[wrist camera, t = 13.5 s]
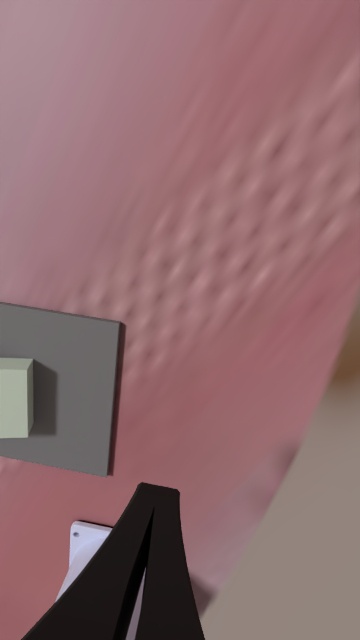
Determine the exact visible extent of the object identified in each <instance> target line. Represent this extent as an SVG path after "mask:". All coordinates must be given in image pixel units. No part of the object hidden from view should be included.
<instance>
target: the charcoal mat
mask: <svg viewBox="0 0 360 640" xmlns="http://www.w3.org/2000/svg"><path fill="white" fill-rule="evenodd" d="M120 326H121V322H119V321H113V320H107V319H101V318H95V317H89V316H83V315H77V314H70V313H64V312H58V311H52V310H46V309H40V308H34V307H28V306H22V305H16V304H10V303H4V302H0V358H25V359H33V417H34V423H33V425H32V428H31V430H30V433H29V436H28V438H0V456H2V457H7V458H12V459H17V460H22V461H27V462H32V463H37V464H42V465H47V466H52V467H57V468H62V469H67V470H72V471H77V472H82V473H87V474H92V475H97V476H102V477H107V475H108V472H109V460H110V447H111V435H112V423H113V411H114V399H115V387H116V375H117V362H118V350H119V338H120Z"/></svg>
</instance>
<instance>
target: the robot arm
mask: <svg viewBox="0 0 360 640" xmlns="http://www.w3.org/2000/svg"><path fill="white" fill-rule="evenodd" d="M21 640H205V638H204V634H203V631H202V627H201V623H200V620H199V616H198V612H197V608H196V604H195V600H194V595H193V591H192V586H191V582H190V577H189V572H188V567H187V562H186V556H185V550H184V544H183V537H182V530H181V520H180V492H179V491H178V490H177V489H173V488H168V487H163V486H158V485H153V484H148V483H143V482H142V483H140V484H138V486H137V489H136V491H135V493H134V495H133V497H132V498H131V500H130V502H129V504H128V505H127V507H126V509H125V510H124V512H123V514H122V515H121V517H120V518H119V520H118V521H117V523H116V524H115V526H114V527H113V528H109V527H104V526H99V525H95V524H90V523H85V522H80V521H75V522H74V523H73V524H72V526H71V535H70V560H69V571H68V573H67V575H66V578H65V580H64V582H63V585H62V587H61V589H60V591H59V594H58V596H57V598H56V601H55V603H54V604H53V606H52V607H51V608H50V609H49V610H48V611H47V612H46V613H45V614H44V615H43V617H42V618H41V619H40V620H39V621H38V622H37V623H36V624H35V625H34V626H33V627H32V629H31V630H30V631H29V632H28V633H27V634H26V635H25V636H24V637H23V638H22V639H21Z"/></svg>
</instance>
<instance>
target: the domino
mask: <svg viewBox="0 0 360 640" xmlns="http://www.w3.org/2000/svg"><path fill="white" fill-rule="evenodd" d="M33 423H34V417H33V359H25V358H0V438H28V436H29V433H30V430H31V428H32V425H33Z"/></svg>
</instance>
